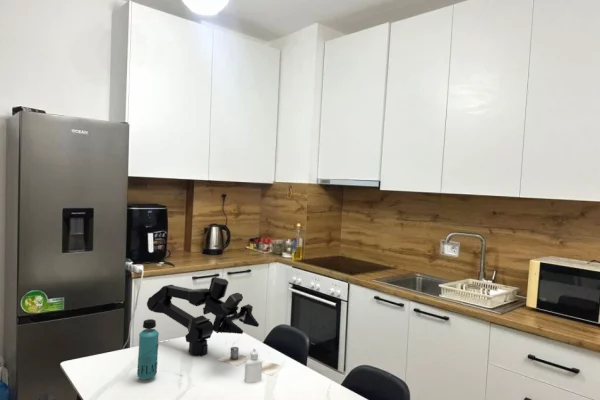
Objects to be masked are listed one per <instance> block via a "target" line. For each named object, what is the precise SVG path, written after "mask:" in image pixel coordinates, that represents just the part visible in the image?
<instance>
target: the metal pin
mask: <svg viewBox="0 0 600 400" xmlns="http://www.w3.org/2000/svg"><path fill="white" fill-rule="evenodd" d="M239 349H240V348H239V347H238V346H232V347H230V352H231V354H230V359H231V360H238V354H239V353H240V352H239Z"/></svg>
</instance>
